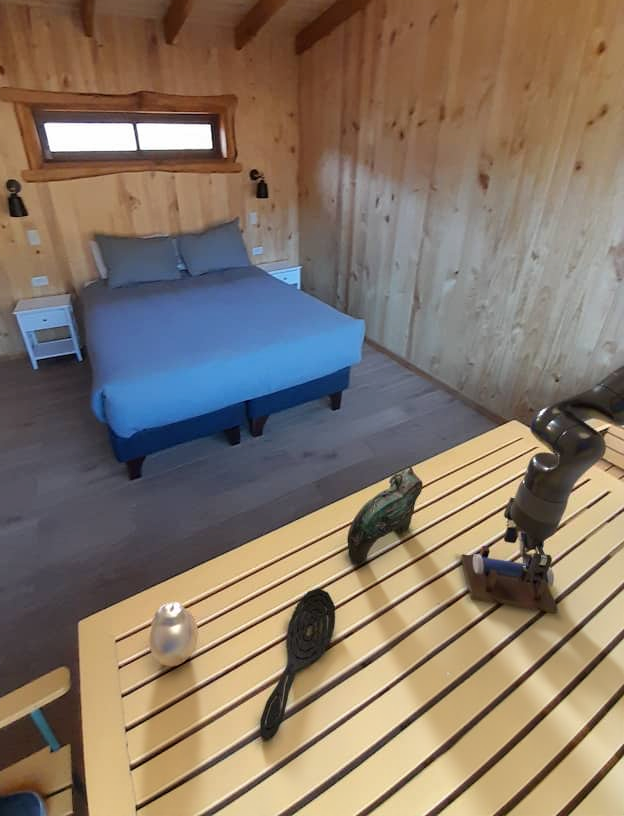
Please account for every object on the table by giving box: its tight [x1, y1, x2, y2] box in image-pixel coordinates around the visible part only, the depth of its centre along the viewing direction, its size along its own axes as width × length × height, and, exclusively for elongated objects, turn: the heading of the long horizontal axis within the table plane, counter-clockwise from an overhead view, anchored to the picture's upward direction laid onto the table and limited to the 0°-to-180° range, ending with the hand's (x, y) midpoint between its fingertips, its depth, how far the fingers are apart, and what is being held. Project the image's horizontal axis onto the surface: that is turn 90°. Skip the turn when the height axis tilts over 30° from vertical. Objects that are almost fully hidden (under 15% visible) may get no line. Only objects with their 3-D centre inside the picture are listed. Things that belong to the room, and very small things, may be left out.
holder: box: [460, 545, 559, 614], centre depth 84 cm, size 16×9×7 cm, turn 79°
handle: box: [472, 553, 555, 587], centre depth 83 cm, size 14×4×4 cm, turn 79°
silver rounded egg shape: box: [148, 601, 199, 667], centre depth 74 cm, size 9×10×10 cm
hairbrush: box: [259, 587, 336, 742], centre depth 73 cm, size 8×4×25 cm
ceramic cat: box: [346, 466, 423, 566], centre depth 90 cm, size 20×6×20 cm, turn 123°
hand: (516, 559), depth 82 cm, fingers open, 8 cm apart
